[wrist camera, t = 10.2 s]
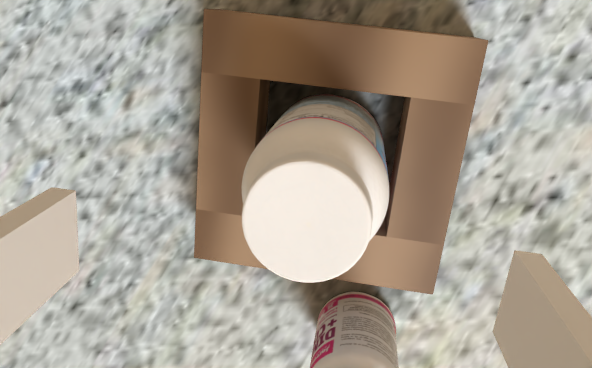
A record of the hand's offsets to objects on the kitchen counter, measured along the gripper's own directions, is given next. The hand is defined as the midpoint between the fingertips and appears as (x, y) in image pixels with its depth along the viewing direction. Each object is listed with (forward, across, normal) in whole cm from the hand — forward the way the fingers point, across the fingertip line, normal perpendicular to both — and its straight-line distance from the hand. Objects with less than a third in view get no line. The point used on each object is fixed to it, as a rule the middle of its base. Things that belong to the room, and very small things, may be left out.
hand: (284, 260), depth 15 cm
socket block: (+14, +1, 0) cm, 14 cm away
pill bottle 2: (+14, +4, -11) cm, 18 cm away
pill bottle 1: (+14, +1, 0) cm, 14 cm away
